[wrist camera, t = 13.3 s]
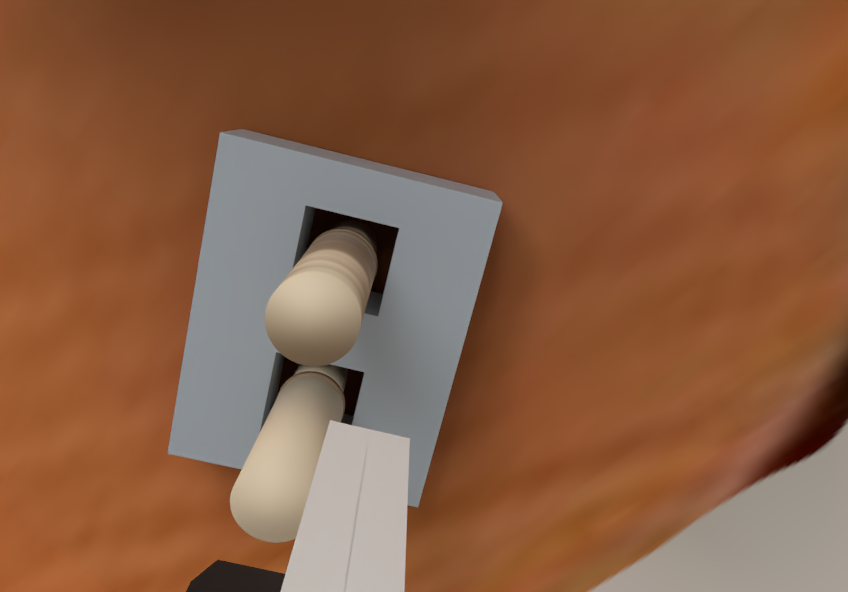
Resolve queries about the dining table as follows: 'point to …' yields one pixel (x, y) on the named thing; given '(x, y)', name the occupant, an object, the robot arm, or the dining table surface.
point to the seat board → (379, 333)
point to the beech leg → (324, 296)
